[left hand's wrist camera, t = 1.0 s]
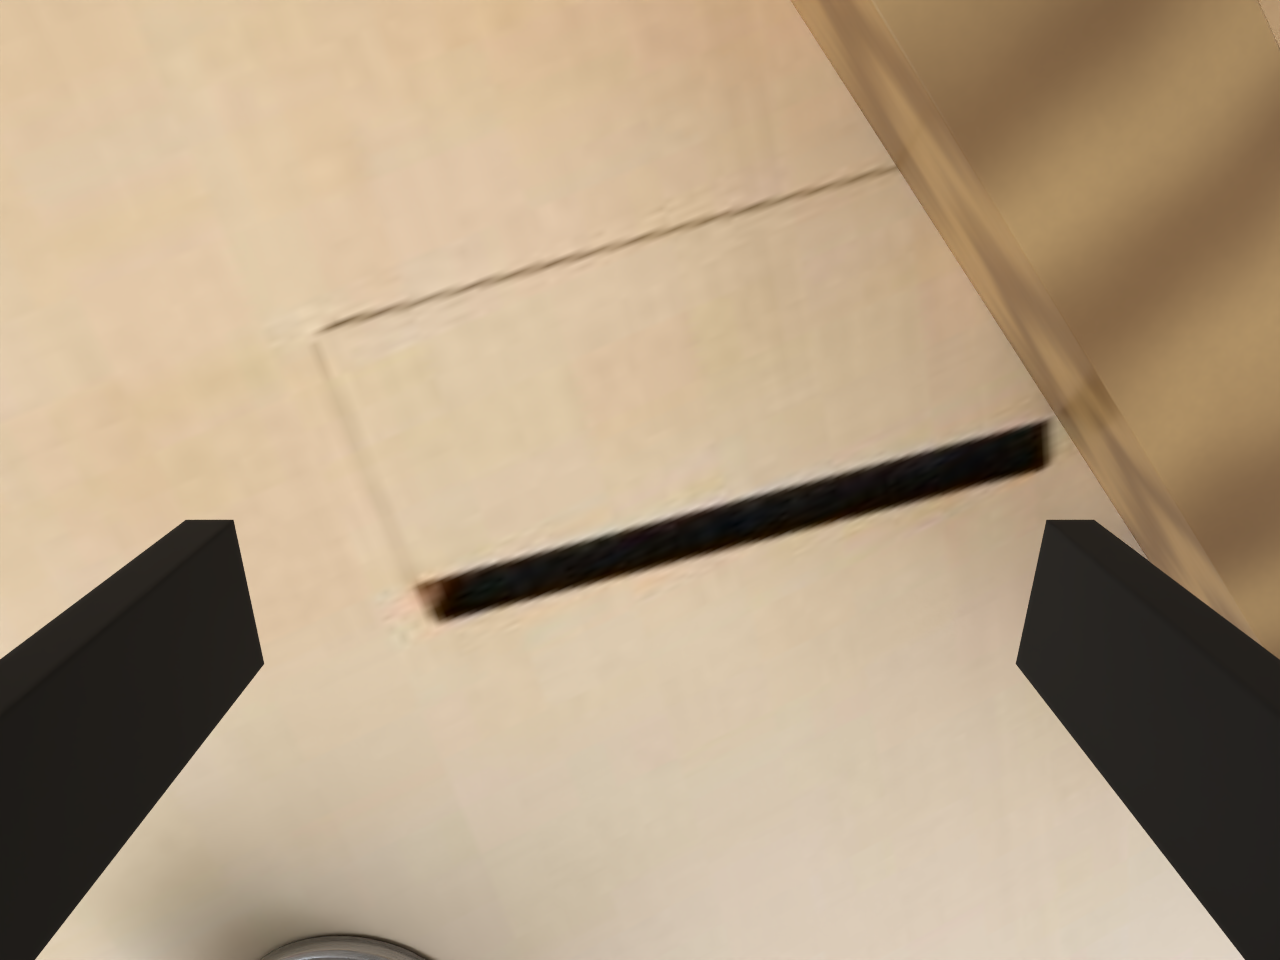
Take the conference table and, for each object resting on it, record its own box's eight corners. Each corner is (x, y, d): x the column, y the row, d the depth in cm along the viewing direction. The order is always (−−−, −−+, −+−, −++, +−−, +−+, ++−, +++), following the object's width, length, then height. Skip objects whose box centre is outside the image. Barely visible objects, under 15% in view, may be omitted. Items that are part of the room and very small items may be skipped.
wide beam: (1405, 604, 40) (1570, 694, 33) (1236, 697, 42) (1357, 801, 35) (815, -543, 25) (887, -835, 18) (594, -305, 27) (579, -480, 20)
